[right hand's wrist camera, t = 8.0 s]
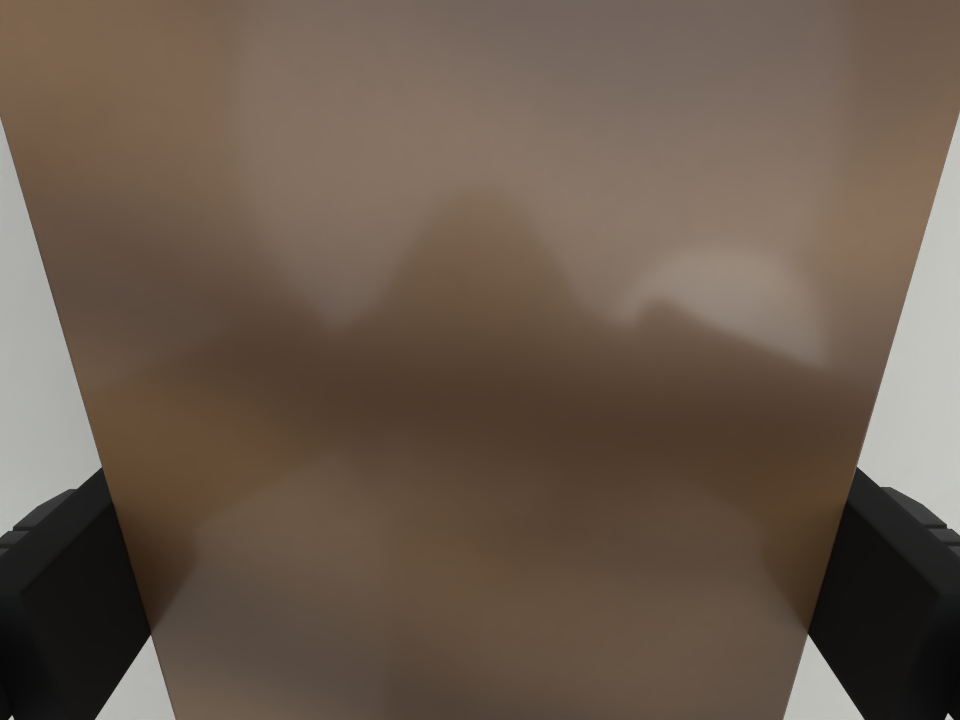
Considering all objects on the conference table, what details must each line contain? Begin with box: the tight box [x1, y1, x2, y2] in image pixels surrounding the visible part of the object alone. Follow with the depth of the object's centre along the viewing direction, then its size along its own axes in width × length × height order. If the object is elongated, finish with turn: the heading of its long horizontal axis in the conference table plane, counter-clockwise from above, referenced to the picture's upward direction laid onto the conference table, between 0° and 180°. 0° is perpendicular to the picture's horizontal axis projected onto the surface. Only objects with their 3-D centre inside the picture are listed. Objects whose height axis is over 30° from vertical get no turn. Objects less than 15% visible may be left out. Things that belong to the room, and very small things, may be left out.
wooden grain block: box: [0, 0, 960, 720], centre depth 12 cm, size 15×11×9 cm
